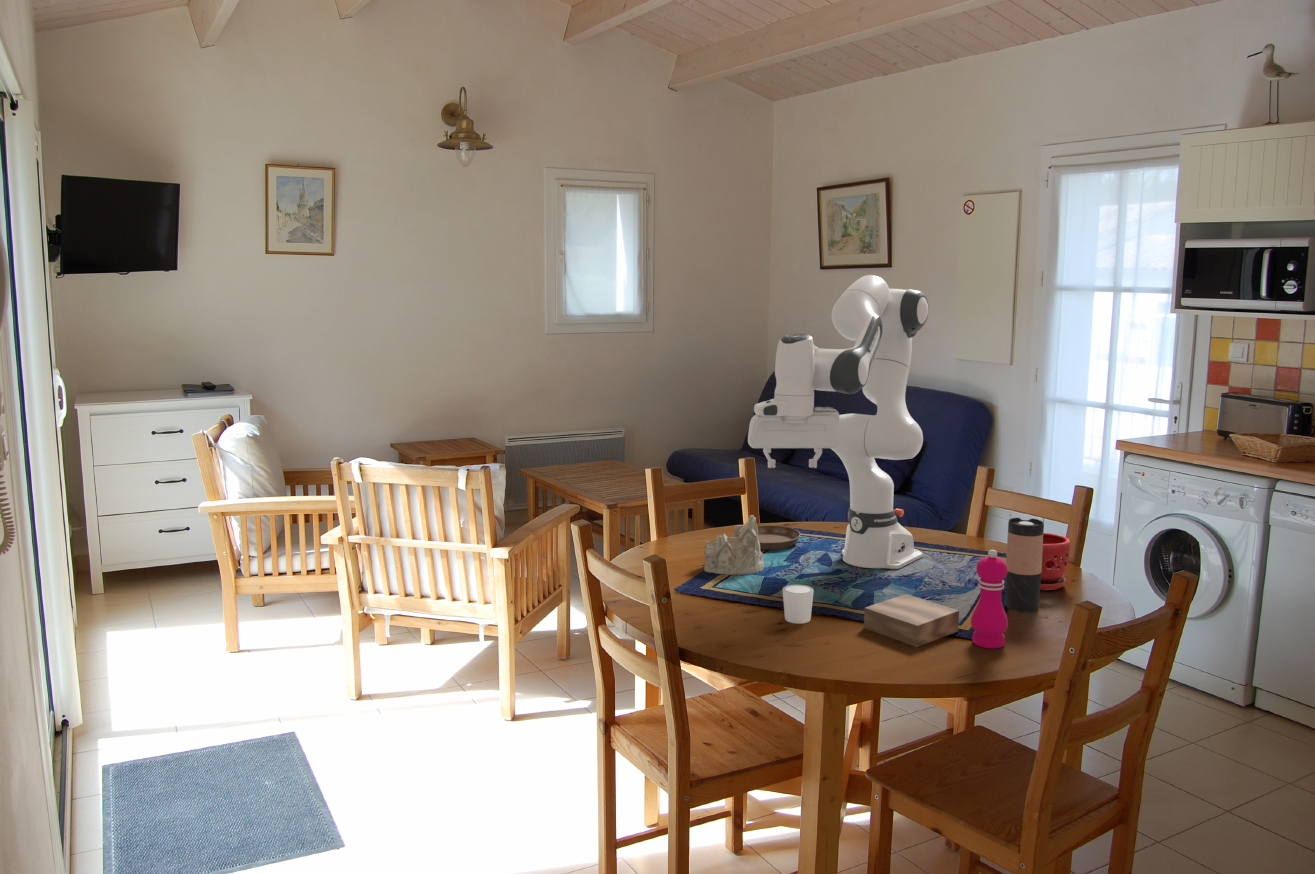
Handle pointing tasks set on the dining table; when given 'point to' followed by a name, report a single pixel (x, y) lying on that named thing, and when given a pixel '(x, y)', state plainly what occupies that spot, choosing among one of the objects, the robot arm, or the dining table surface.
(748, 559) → the ceramic cottage
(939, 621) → the walnut base block
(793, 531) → the plant saucer
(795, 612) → the white cup
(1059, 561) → the plant pot
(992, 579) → the pepper mill
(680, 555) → the dining table surface
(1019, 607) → the travel mug
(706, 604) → the dining table surface
